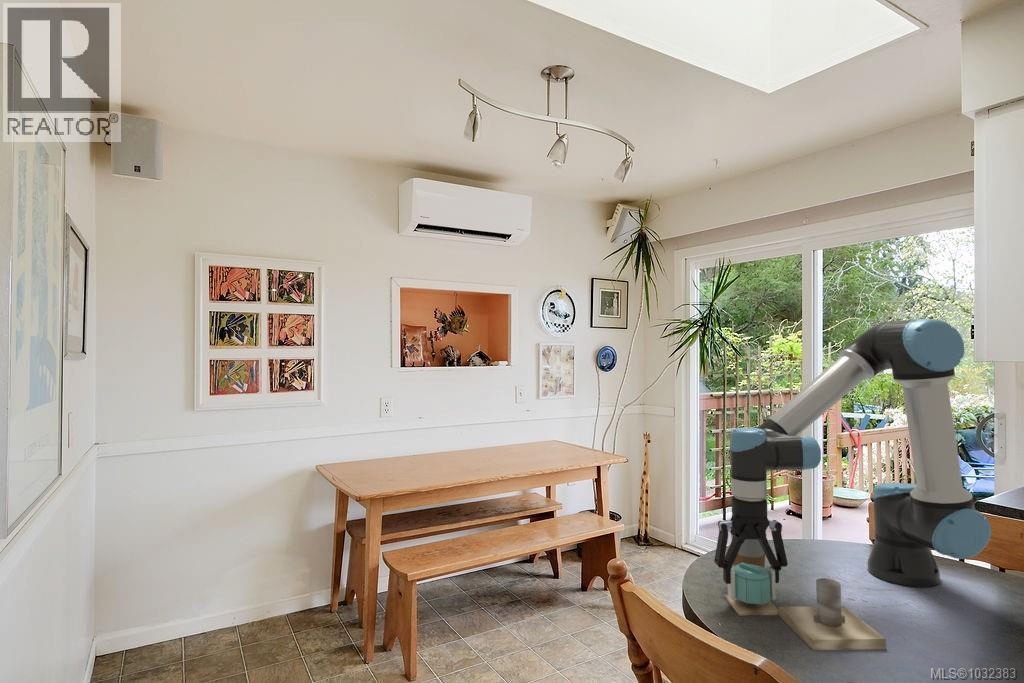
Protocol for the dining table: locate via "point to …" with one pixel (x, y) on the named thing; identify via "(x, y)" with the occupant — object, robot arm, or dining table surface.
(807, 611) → the post base
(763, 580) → the cap
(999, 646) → the dining table surface
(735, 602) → the coaster
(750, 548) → the coffee cup
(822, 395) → the robot arm
